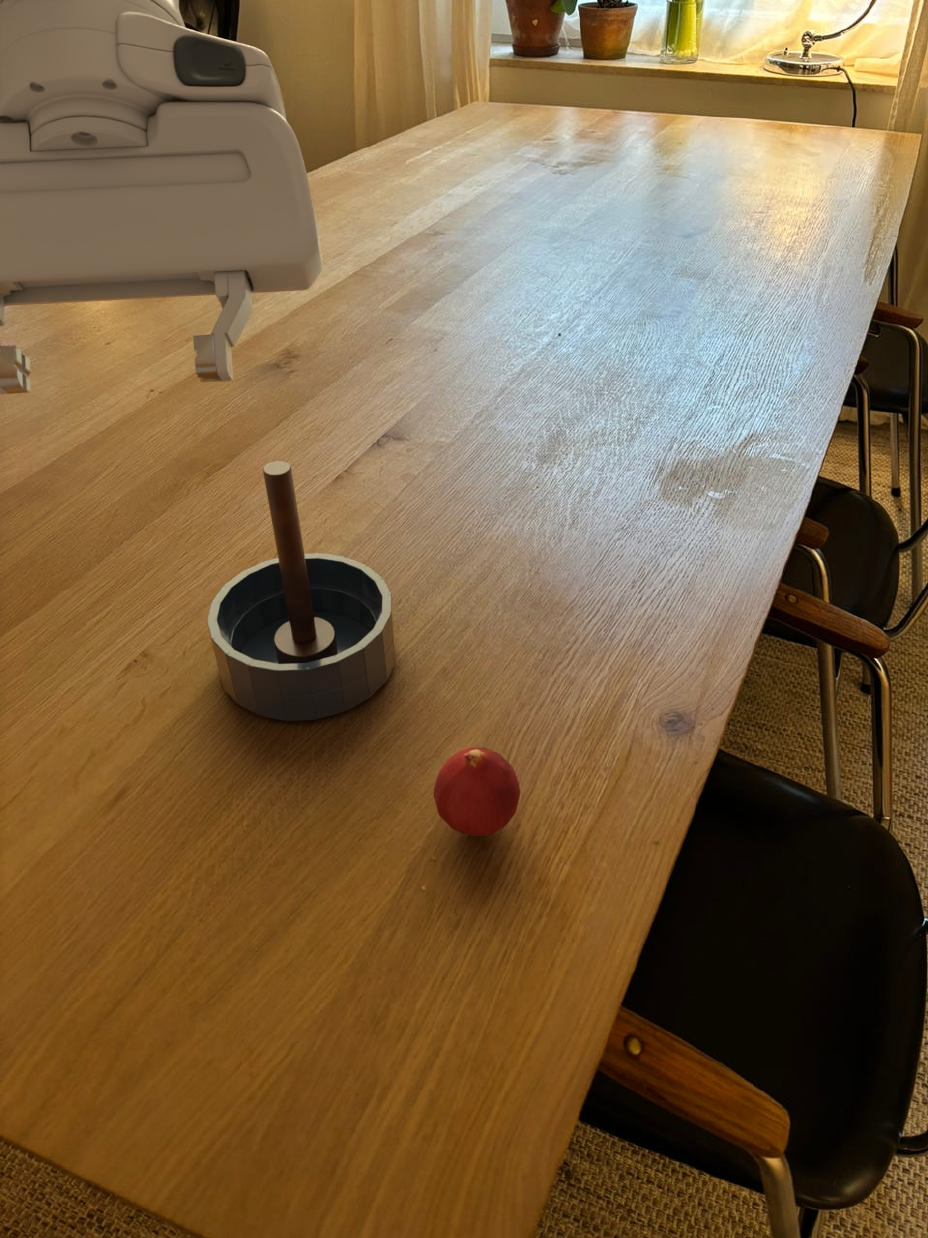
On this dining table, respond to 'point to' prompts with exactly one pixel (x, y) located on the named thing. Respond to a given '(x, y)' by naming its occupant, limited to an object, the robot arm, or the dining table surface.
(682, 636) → the dining table surface
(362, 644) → the bowl
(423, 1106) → the dining table surface
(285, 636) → the upright rod on disc
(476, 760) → the onion
